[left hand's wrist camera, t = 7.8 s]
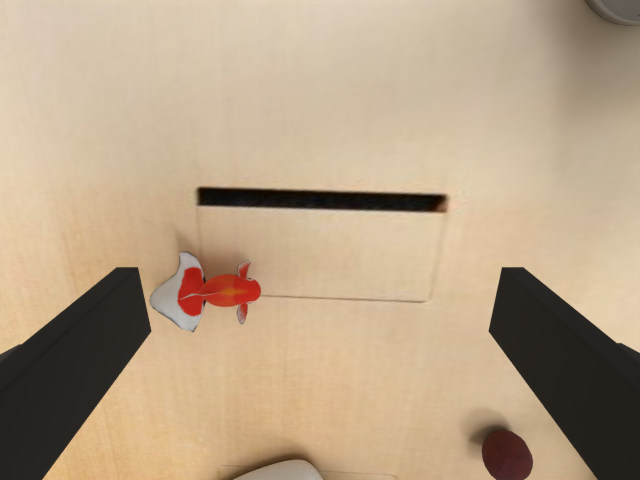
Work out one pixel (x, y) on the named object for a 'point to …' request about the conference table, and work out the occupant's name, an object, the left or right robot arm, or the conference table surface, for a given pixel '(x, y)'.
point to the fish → (202, 293)
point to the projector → (284, 472)
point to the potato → (507, 456)
